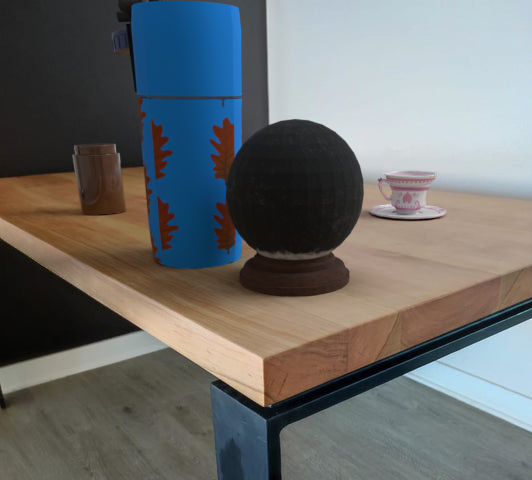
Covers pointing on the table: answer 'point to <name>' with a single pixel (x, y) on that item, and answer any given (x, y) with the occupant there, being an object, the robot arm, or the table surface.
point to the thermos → (189, 126)
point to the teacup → (408, 196)
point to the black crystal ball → (294, 207)
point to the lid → (120, 42)
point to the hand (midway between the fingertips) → (155, 93)
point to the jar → (99, 178)
